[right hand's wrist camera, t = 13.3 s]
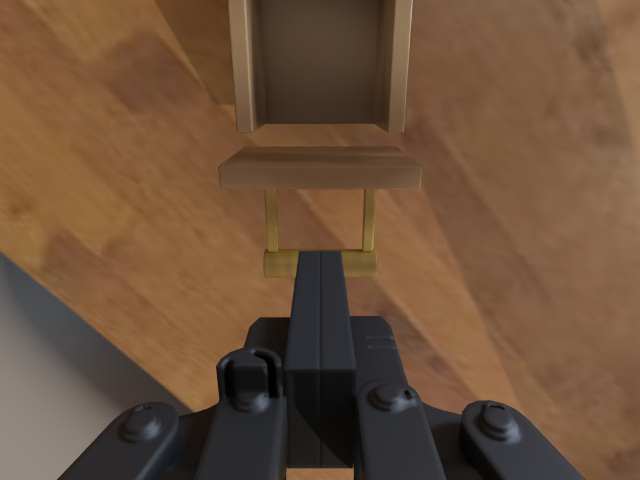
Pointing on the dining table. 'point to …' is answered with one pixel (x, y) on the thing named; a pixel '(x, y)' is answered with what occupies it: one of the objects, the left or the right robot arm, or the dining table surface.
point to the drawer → (320, 105)
